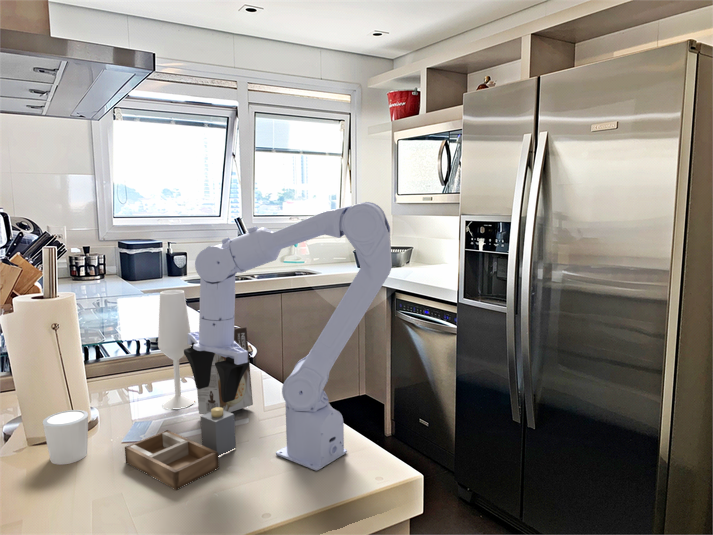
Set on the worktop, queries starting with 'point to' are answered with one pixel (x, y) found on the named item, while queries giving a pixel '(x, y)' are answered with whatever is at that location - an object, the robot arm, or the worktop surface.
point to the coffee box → (212, 394)
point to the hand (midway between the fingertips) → (215, 394)
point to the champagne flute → (174, 338)
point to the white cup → (67, 436)
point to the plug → (218, 430)
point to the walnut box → (172, 458)
